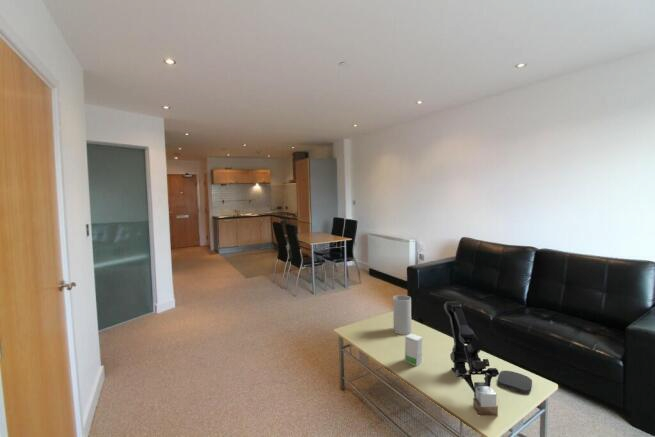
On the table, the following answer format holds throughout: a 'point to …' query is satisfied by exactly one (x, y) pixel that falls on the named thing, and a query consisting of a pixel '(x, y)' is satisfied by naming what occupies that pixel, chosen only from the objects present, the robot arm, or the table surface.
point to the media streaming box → (515, 381)
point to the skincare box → (413, 349)
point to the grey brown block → (485, 401)
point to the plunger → (478, 385)
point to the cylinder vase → (402, 314)
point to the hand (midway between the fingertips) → (481, 392)
